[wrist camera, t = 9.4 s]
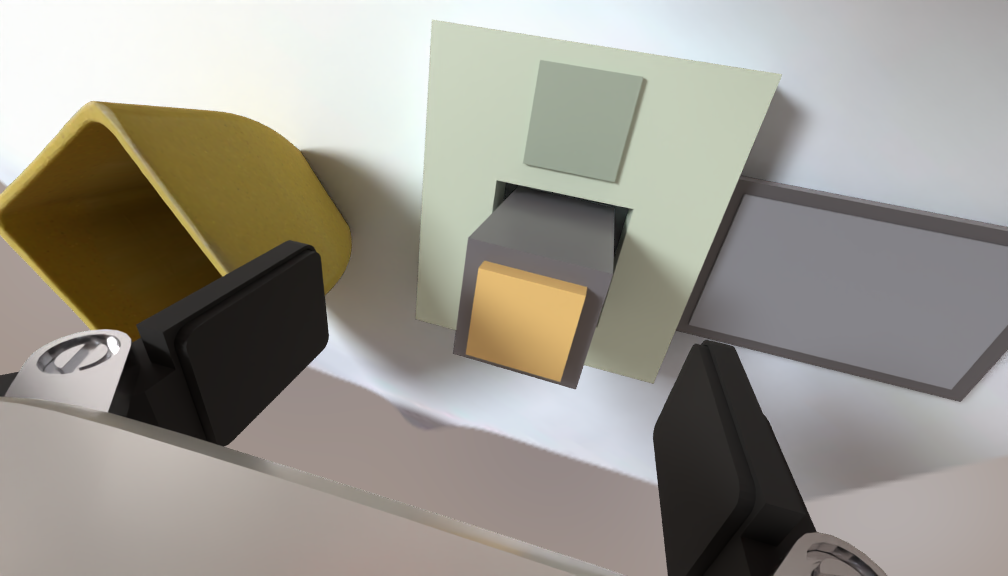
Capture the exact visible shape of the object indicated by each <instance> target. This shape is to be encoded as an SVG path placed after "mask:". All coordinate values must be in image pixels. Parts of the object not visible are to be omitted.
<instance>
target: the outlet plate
mask: <svg viewBox="0 0 1008 576" xmlns="http://www.w3.org/2000/svg"><path fill="white" fill-rule="evenodd" d="M781 76H782V74H776V73H770V72H763V71H757V70H750V69H744V68H738V67H731V66H725V65H718V64H712V63H706V62H699V61H693V60H687V59H680V58H674V57H667V56H661V55H655V54H648V53H642V52H635V51H629V50H623V49H616V48H610V47H603V46H597V45H591V44H584V43H578V42H571V41H565V40H559V39H552V38H546V37H540V36H533V35H527V34H520V33H514V32H508V31H501V30H495V29H488V28H482V27H476V26H469V25H463V24H456V23H450V22H444V21H437V20H432V28H431V46H430V64H429V82H428V100H427V118H426V136H425V154H424V172H423V190H422V208H421V226H420V244H419V262H418V280H417V299H416V317H415V319H416V320H420V321H424V322H427V323H431V324H435V325H438V326H442V327H446V328H449V329H453V330H456V326H457V319H458V311H459V304H460V296H461V288H462V281H463V273H464V265H465V258H466V250H467V242H468V237H469V236H470V235H471V234H472V233H473V232H474V231H475V230H476V229H477V228H478V227H479V226H480V225H481V224H482V223H483V222H484V221H485V220H486V219H487V218H488V217H489V216H490V215H491V214H492V213H493V212H494V211H495V210H496V209H497V208H498V207H499V206H500V205H501V204H502V203H503V200H504V193H505V187H506V182H508V183H512V184H517V185H522V186H526V187H531V188H536V189H541V190H545V191H550V192H555V193H560V194H564V195H569V196H574V197H578V198H583V199H588V200H593V201H597V202H602V203H607V204H611V205H616V206H621V207H626V208H629V209H628V213H627V216H626V219H625V222H624V226H623V229H622V232H621V236H620V239H619V242H618V246H617V249H616V252H615V256H614V261H613V276H612V280H611V283H610V286H609V289H608V292H607V295H606V298H605V301H604V304H603V307H602V310H601V313H600V316H599V320H598V323H597V326H596V329H595V332H594V335H593V338H592V341H591V344H590V347H589V350H588V353H587V356H586V360H585V363H584V365H586V366H590V367H593V368H597V369H601V370H604V371H608V372H612V373H616V374H619V375H623V376H627V377H630V378H634V379H638V380H641V381H645V382H649V383H652V384H653V383H654V381H655V378H656V376H657V374H658V371H659V369H660V366H661V364H662V362H663V359H664V357H665V354H666V352H667V350H668V347H669V345H670V343H671V340H672V338H673V335H674V333H675V331H676V328H677V326H678V323H679V321H680V319H681V316H682V314H683V311H684V309H685V307H686V304H687V302H688V299H689V297H690V295H691V292H692V290H693V287H694V285H695V283H696V280H697V278H698V275H699V273H700V271H701V268H702V266H703V263H704V261H705V259H706V256H707V254H708V251H709V249H710V247H711V244H712V242H713V239H714V237H715V235H716V232H717V230H718V227H719V225H720V223H721V220H722V218H723V215H724V213H725V211H726V208H727V206H728V203H729V201H730V199H731V196H732V194H733V191H734V189H735V187H736V184H737V182H738V179H739V177H740V175H741V172H742V170H743V167H744V165H745V163H746V160H747V158H748V155H749V153H750V151H751V148H752V146H753V144H754V141H755V139H756V136H757V134H758V132H759V129H760V127H761V124H762V122H763V120H764V117H765V115H766V112H767V110H768V108H769V105H770V103H771V100H772V98H773V96H774V93H775V91H776V88H777V86H778V84H779V81H780V79H781Z"/></svg>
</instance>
